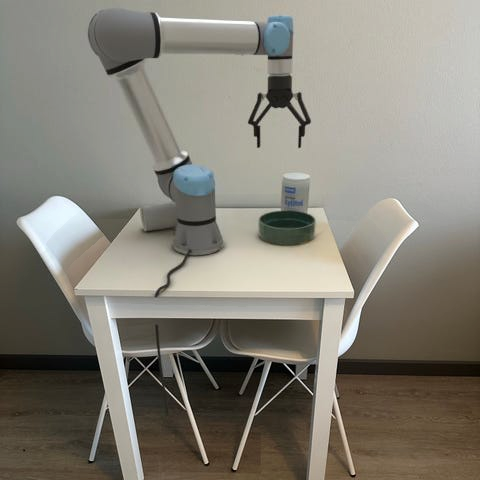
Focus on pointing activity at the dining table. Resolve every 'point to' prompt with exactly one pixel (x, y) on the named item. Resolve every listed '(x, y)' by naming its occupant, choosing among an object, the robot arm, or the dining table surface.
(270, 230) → the dark green bowl
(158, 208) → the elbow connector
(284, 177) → the supplement tub
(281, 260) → the dining table surface
